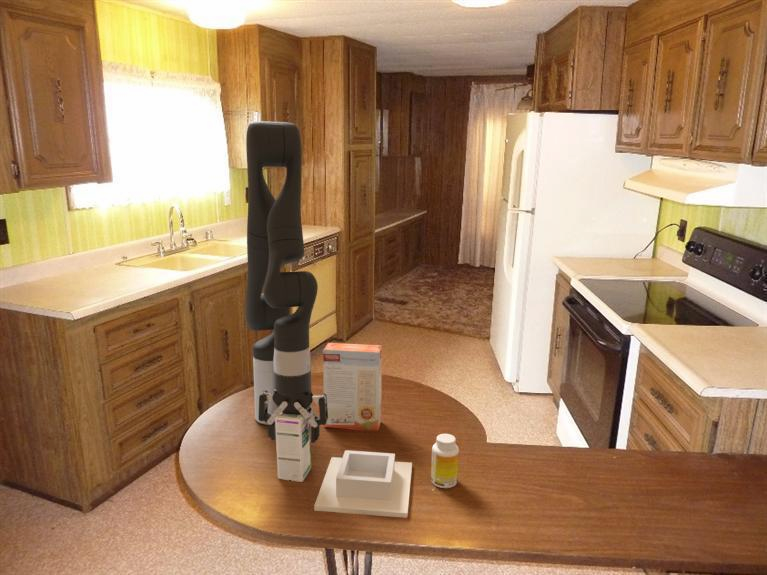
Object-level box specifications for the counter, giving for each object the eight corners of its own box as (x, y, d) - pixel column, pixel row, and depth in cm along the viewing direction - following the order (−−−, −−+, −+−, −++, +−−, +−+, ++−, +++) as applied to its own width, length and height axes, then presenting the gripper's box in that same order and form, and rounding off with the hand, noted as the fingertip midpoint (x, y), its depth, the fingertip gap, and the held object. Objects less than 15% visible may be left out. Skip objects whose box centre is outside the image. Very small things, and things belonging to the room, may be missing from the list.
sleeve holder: (331, 461, 126) (331, 440, 125) (412, 466, 124) (412, 446, 123) (314, 510, 109) (314, 487, 107) (407, 517, 107) (408, 494, 106)
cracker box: (381, 421, 145) (383, 344, 140) (378, 432, 140) (379, 352, 135) (328, 416, 147) (328, 340, 142) (323, 427, 141) (322, 349, 136)
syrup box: (303, 482, 118) (302, 419, 114) (276, 479, 119) (274, 416, 115) (311, 468, 123) (311, 407, 120) (286, 465, 124) (284, 404, 121)
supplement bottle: (462, 485, 118) (464, 441, 115) (439, 492, 115) (441, 447, 113) (448, 472, 123) (450, 429, 120) (425, 478, 120) (427, 434, 118)
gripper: (330, 362, 118) (330, 433, 122) (264, 359, 119) (266, 429, 123) (323, 376, 111) (323, 451, 114) (252, 372, 112) (255, 446, 116)
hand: (294, 440), depth 119 cm, fingers open, 8 cm apart
